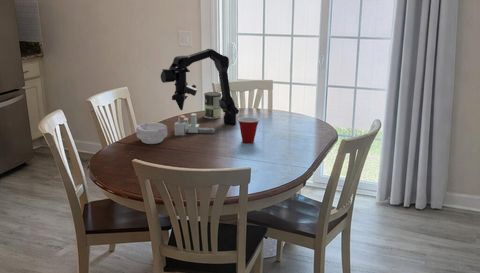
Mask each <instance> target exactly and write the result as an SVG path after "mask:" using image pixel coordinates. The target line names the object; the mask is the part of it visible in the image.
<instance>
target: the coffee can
mask: <svg viewBox="0 0 480 273" xmlns="http://www.w3.org/2000/svg"><path fill="white" fill-rule="evenodd" d="M203 95H204V115H203V116H204V118H206V119H213V120H214V119H219V118H221V117H222V109H221V107H220V106H219V105H220V103H219V99H221V98H222V92H218V91H208V92H204V93H203Z"/></svg>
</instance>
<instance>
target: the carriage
mask: <svg viewBox="0 0 480 273" xmlns="http://www.w3.org/2000/svg"><path fill="white" fill-rule="evenodd" d="M198 128H200V123H198V122H197V113H191V114H190V123H189V126H188V134H190V133H191V134H199V133H198Z"/></svg>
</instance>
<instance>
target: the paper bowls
mask: <svg viewBox="0 0 480 273" xmlns="http://www.w3.org/2000/svg"><path fill="white" fill-rule="evenodd" d="M135 129H136V130H135V134H136V138H138V139H140V140H141V142H142V143H144V144H146V145H147V144H148V145H155V144H159V143H162V142H163V140H164V139H165V138H167V136H168V126H167V125H166V124H164V123H161V122H146V123H140V124H138V125H136V127H135Z"/></svg>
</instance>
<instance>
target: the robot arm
mask: <svg viewBox="0 0 480 273" xmlns="http://www.w3.org/2000/svg"><path fill="white" fill-rule="evenodd" d="M208 58H209V59H210V60H212V61H213V63H214V65H215V66H214V67H215V68H216V70H217V71H218V77H219V84H220V93H221V94H222V95H221V99H219V103H220V105H219V106H220V107H221V111H222V112H223V113H224V115H223V123H224V125H226V126H227V125H228V126H229V125H230V126H236V124H237V121H238V120H237V115H238V114H239V112H240V110H239V109H238V108H237V107H236V104H235V101H234V99H233V97H232V95H231V89H230V82H229V75H228V74H229V73H228V69H229V67H230V59H229V57H228V56H226V55H223V54H221V53H219V52H218V51H215V49H214V48H206V49H204V50H201V51H198V52H195V53H192V54H188V55H177V56H174V58H173V59H172V60H173V62H172V63H171V64H170V66H169V68H167V69H166V68H164V69H163V68H162V69H161V70H162V71H161V73H160V79H161V82H162V83H163V84H167V83H174V82H175V83H174V86H175V90H174V94H173V95H172V96H171V101H175V102H176V104H177V106H178V109H179V110H180V111H183V109H184V105H185V100H186V99H187V98H188V95H191V96H194V97H195V96H196V95H197V92H198V88H197V85H196V84H192V85H188V84H189V83H188V82H187V73H190V70H189V68H188V67H190V66H191V65H192V64H194V63H196V62H199V61H203V60H206V59H208ZM186 94H187V95H186Z"/></svg>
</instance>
